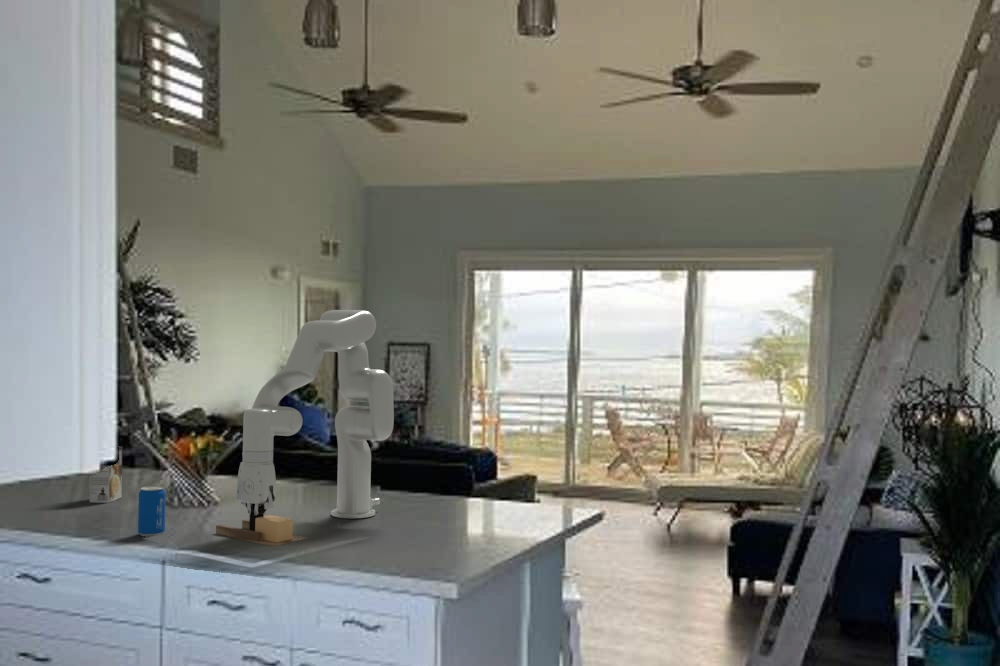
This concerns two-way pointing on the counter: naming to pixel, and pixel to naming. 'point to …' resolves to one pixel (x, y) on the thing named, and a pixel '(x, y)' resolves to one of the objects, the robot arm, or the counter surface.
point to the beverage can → (151, 511)
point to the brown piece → (250, 534)
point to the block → (274, 528)
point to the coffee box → (107, 483)
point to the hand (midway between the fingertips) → (256, 529)
